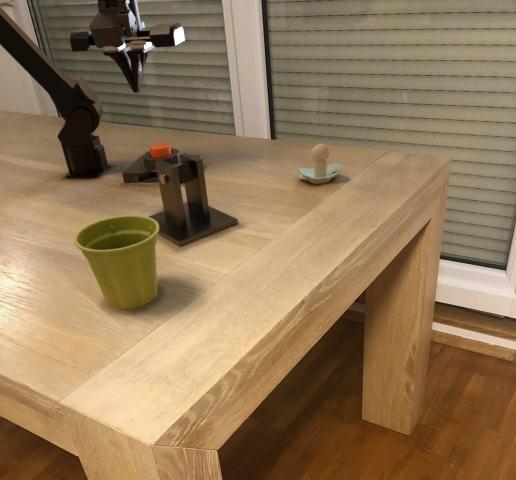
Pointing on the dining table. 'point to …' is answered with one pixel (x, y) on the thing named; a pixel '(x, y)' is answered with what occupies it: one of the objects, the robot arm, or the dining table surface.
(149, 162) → the block
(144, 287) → the plant pot
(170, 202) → the dark brown stand
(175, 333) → the dining table surface
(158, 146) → the button
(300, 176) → the pacifier
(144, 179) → the dark t-shaped lever
